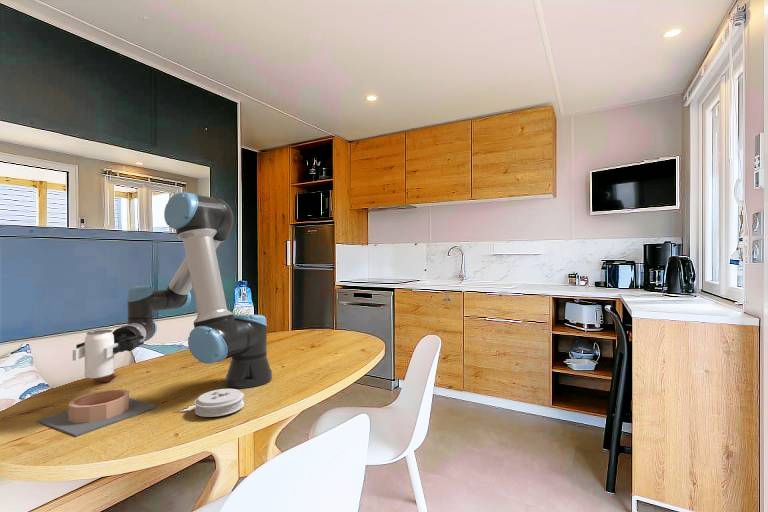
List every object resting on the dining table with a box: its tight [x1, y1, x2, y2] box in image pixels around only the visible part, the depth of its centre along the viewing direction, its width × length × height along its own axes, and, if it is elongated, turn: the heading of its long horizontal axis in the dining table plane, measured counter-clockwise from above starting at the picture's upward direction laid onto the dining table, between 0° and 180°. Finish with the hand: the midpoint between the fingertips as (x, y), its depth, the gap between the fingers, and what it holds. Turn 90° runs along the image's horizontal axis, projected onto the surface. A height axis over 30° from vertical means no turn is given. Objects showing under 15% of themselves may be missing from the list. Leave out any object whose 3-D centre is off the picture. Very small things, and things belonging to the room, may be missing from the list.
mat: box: [35, 397, 160, 437], centre depth 103 cm, size 20×20×1 cm
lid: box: [194, 388, 245, 418], centre depth 104 cm, size 13×13×5 cm
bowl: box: [67, 389, 130, 423], centre depth 103 cm, size 13×13×4 cm
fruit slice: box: [92, 373, 117, 383], centre depth 130 cm, size 8×7×5 cm
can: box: [84, 329, 115, 380], centre depth 103 cm, size 6×6×12 cm
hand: (90, 354), depth 98 cm, fingers closed on can, 6 cm apart
